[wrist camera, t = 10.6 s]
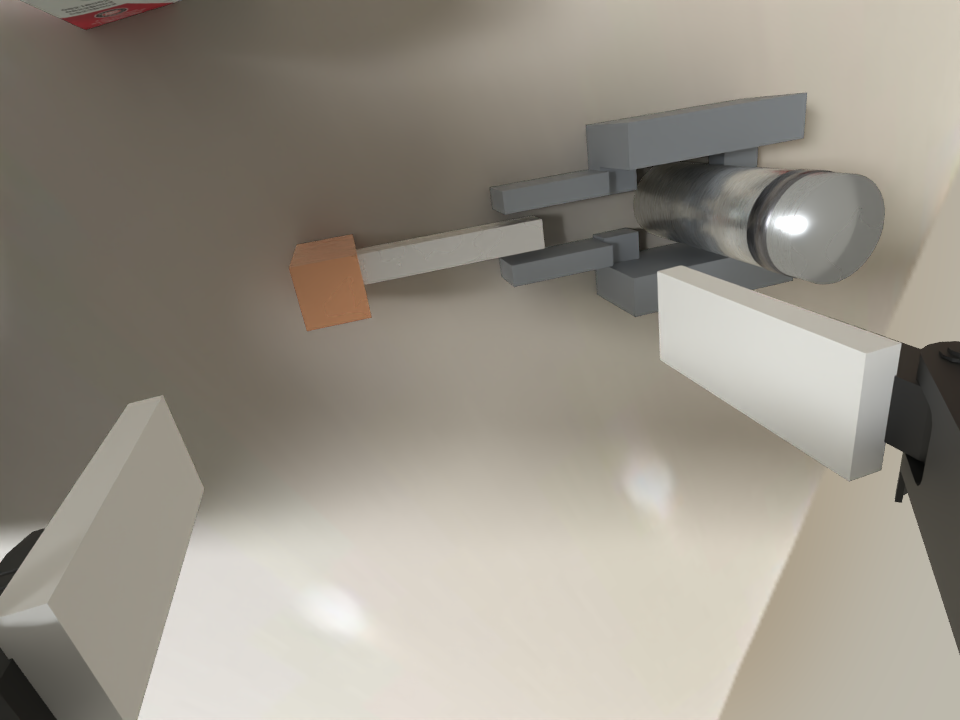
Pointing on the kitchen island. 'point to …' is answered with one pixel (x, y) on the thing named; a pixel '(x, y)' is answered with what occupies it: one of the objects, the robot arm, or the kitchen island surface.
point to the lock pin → (394, 264)
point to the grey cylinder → (766, 216)
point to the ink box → (95, 9)
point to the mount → (612, 170)
